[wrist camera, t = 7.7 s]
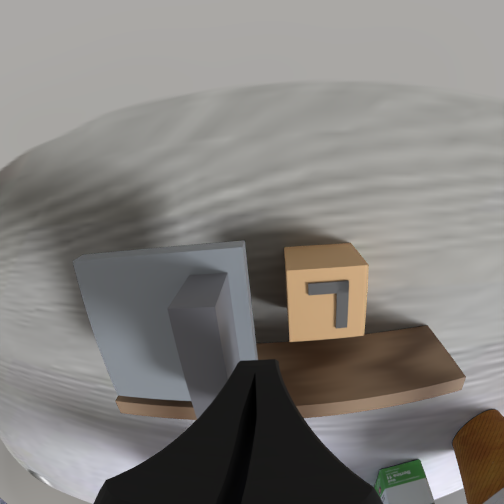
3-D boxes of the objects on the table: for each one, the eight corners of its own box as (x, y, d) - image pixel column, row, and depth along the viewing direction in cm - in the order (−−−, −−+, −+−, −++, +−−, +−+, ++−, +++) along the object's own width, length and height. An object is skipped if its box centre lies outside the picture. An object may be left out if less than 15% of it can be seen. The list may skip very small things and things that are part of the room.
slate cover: (244, 240, 13) (233, 275, 10) (261, 388, 16) (257, 446, 12) (83, 254, 14) (34, 285, 10) (124, 384, 16) (97, 431, 13)
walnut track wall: (427, 325, 20) (465, 376, 14) (425, 336, 20) (461, 389, 14) (148, 345, 22) (115, 400, 16) (151, 356, 22) (121, 412, 16)
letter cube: (350, 242, 18) (369, 266, 15) (349, 302, 20) (364, 336, 16) (284, 246, 19) (286, 271, 15) (287, 307, 20) (289, 343, 16)
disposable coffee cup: (436, 467, 25) (464, 545, 14) (441, 423, 23) (483, 518, 11) (502, 433, 24) (539, 500, 12) (516, 383, 21) (571, 458, 10)
